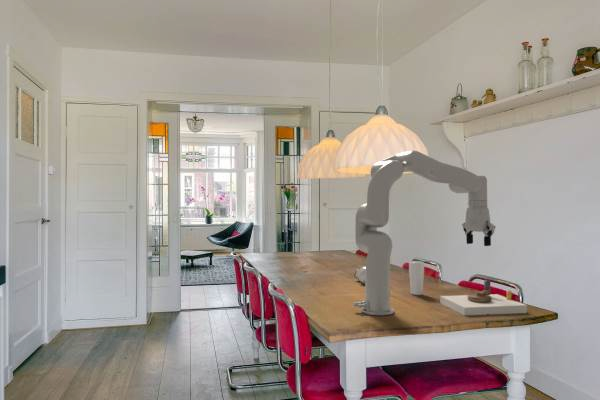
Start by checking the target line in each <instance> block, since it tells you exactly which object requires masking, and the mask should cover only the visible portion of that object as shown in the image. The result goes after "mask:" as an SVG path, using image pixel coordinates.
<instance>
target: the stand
mask: <svg viewBox="0 0 600 400" xmlns="http://www.w3.org/2000/svg"><path fill="white" fill-rule="evenodd" d="M468 295H469V294H467V295H466V294H465V295H464V294H463V295H439V296H440V297H439V299H440V300H439V301H440V304H441V305H442V306H445V307H446V308H447V307H448V308H449V309H451V310H453V311H455V312H456V313H459V314H460V315H463V316H486V315H487V314H489V315H506V314H507V315H511V314H512V315H513V314H527V313H528V305H527V304H524V303H522V302H519V301H517V300H514V299H512V290H506V296H504V295H501V294H498V293H495V294H492V293H490V295H489V296H491V297H492V301H491V302H474V301H470V300H468Z"/></svg>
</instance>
